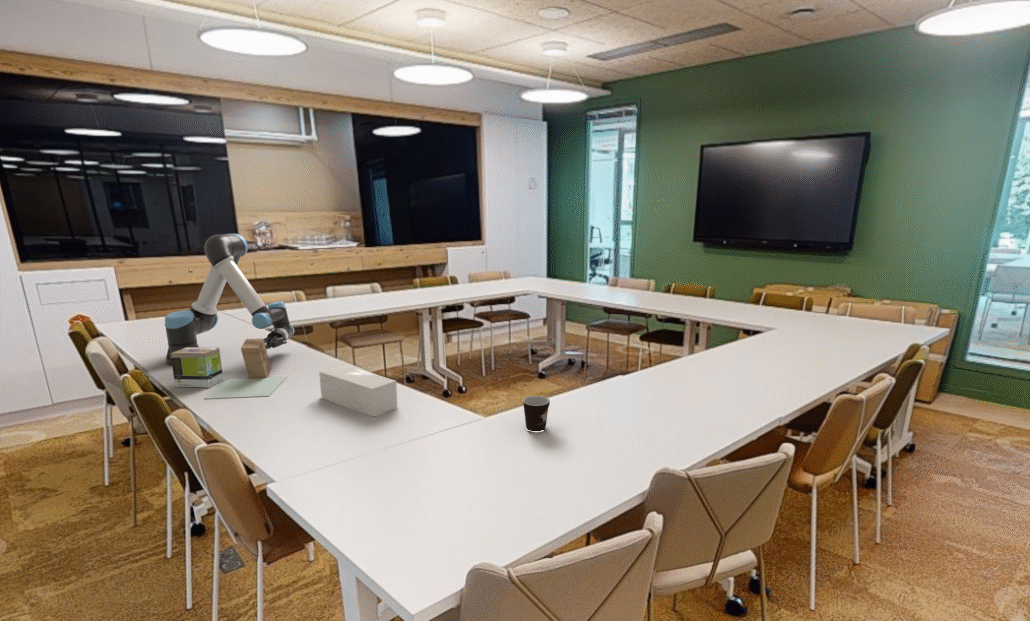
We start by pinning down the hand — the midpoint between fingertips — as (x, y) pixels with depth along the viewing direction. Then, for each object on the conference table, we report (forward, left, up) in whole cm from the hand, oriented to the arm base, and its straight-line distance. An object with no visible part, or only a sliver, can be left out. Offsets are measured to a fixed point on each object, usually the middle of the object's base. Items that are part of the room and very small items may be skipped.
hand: (260, 349), depth 225 cm
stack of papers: (+38, +47, -12) cm, 61 cm away
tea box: (+8, -23, -12) cm, 27 cm away
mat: (+16, -1, -12) cm, 20 cm away
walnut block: (+1, -1, -11) cm, 11 cm away
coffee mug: (+69, +111, -12) cm, 131 cm away
